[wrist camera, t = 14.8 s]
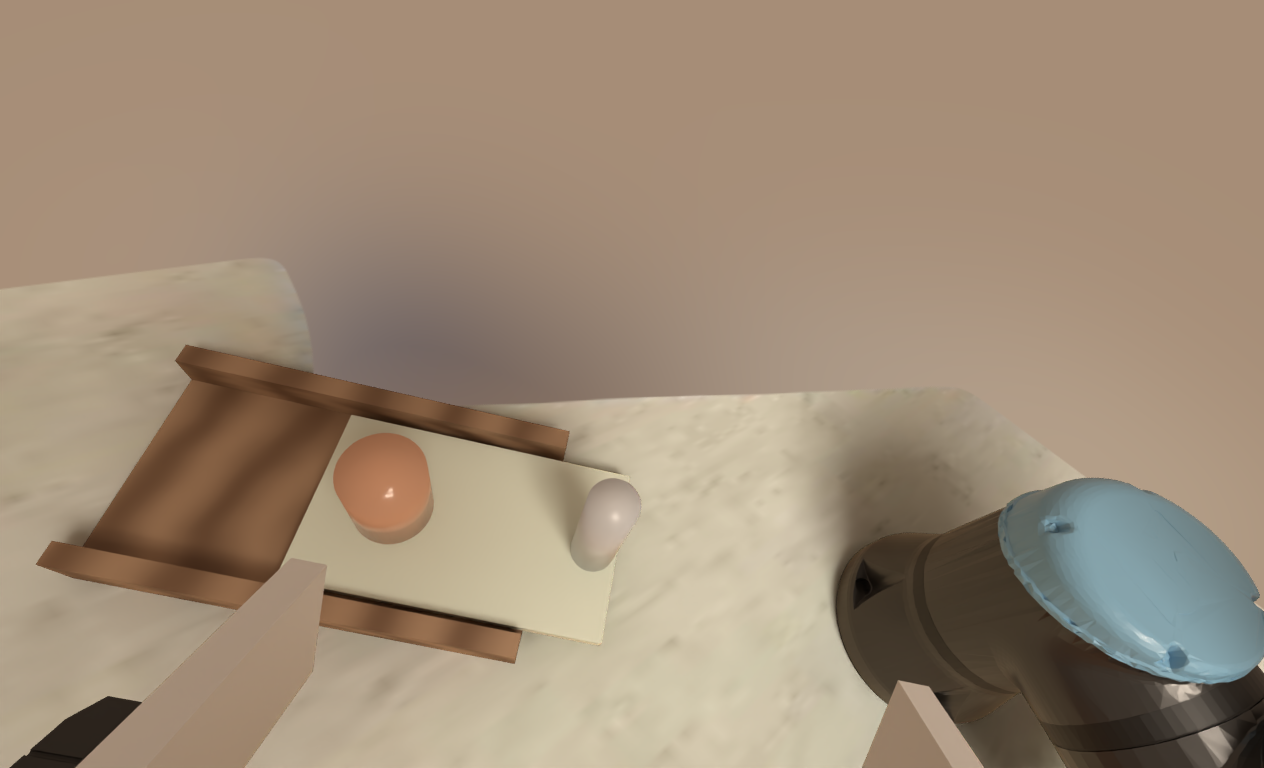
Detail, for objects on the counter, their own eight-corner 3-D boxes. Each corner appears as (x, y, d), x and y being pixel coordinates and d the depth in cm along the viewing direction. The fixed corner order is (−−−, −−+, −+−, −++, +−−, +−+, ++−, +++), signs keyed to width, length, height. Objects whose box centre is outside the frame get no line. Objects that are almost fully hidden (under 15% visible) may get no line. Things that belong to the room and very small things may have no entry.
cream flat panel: (627, 481, 52) (657, 419, 42) (599, 645, 45) (627, 620, 35) (354, 421, 51) (316, 341, 40) (280, 582, 43) (210, 535, 33)
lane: (565, 450, 54) (569, 431, 51) (514, 663, 45) (515, 658, 41) (207, 370, 52) (186, 344, 48) (73, 577, 42) (35, 564, 39)
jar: (448, 513, 47) (444, 481, 41) (378, 560, 44) (362, 533, 38) (407, 456, 49) (398, 418, 43) (336, 498, 46) (315, 463, 40)
